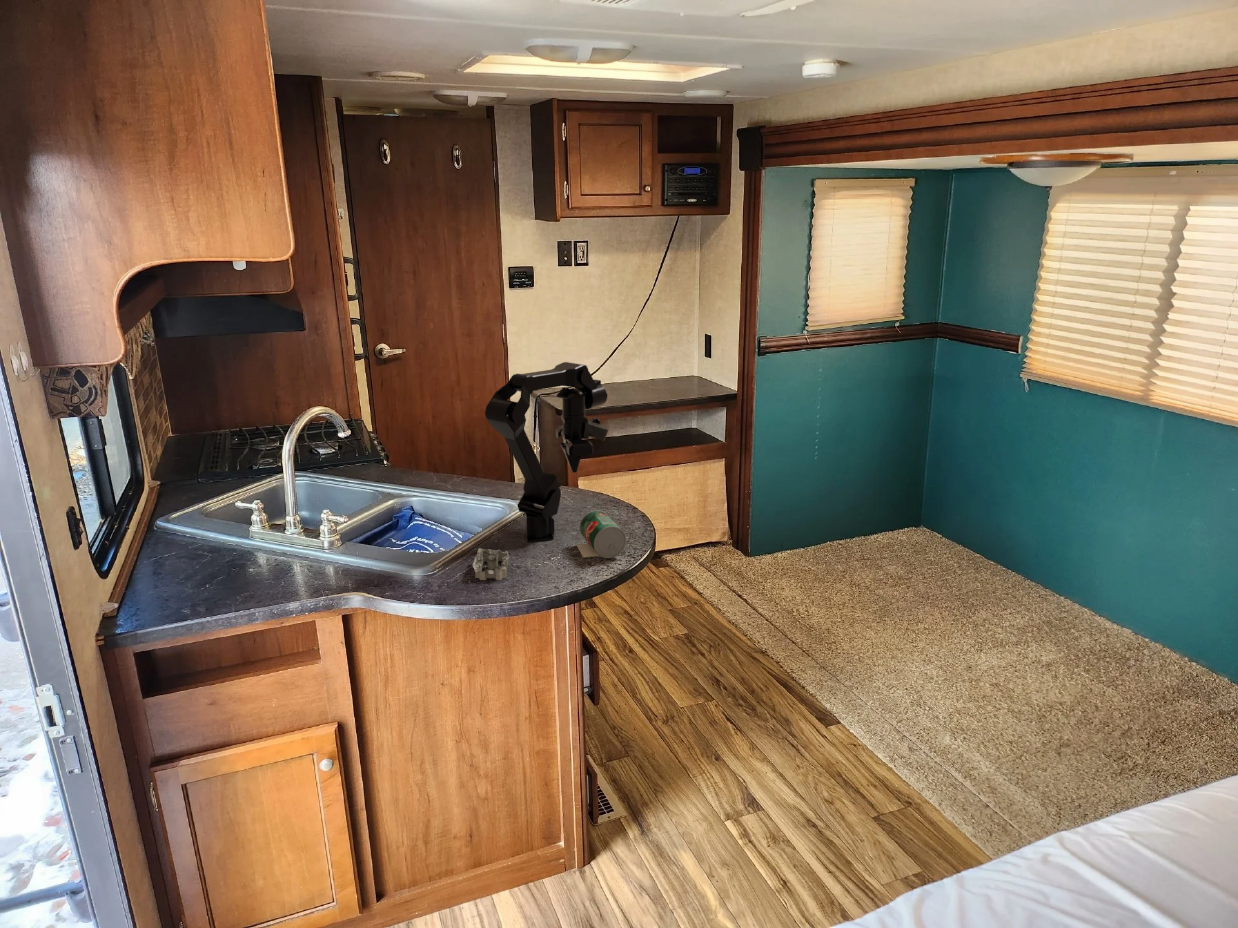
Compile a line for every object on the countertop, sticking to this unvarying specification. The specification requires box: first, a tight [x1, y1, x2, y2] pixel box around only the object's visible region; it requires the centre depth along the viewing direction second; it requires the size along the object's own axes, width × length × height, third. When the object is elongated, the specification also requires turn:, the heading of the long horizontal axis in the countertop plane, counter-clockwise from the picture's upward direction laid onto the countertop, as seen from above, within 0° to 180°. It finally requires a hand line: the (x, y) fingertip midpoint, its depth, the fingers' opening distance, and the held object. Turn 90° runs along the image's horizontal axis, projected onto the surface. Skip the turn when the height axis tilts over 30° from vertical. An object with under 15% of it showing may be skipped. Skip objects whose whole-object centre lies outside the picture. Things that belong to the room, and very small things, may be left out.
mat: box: [576, 542, 600, 558], centre depth 198 cm, size 8×7×1 cm
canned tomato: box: [579, 509, 627, 559], centre depth 197 cm, size 8×8×11 cm
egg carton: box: [472, 547, 510, 581], centre depth 186 cm, size 11×8×4 cm
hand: (574, 472), depth 213 cm, fingers closed
